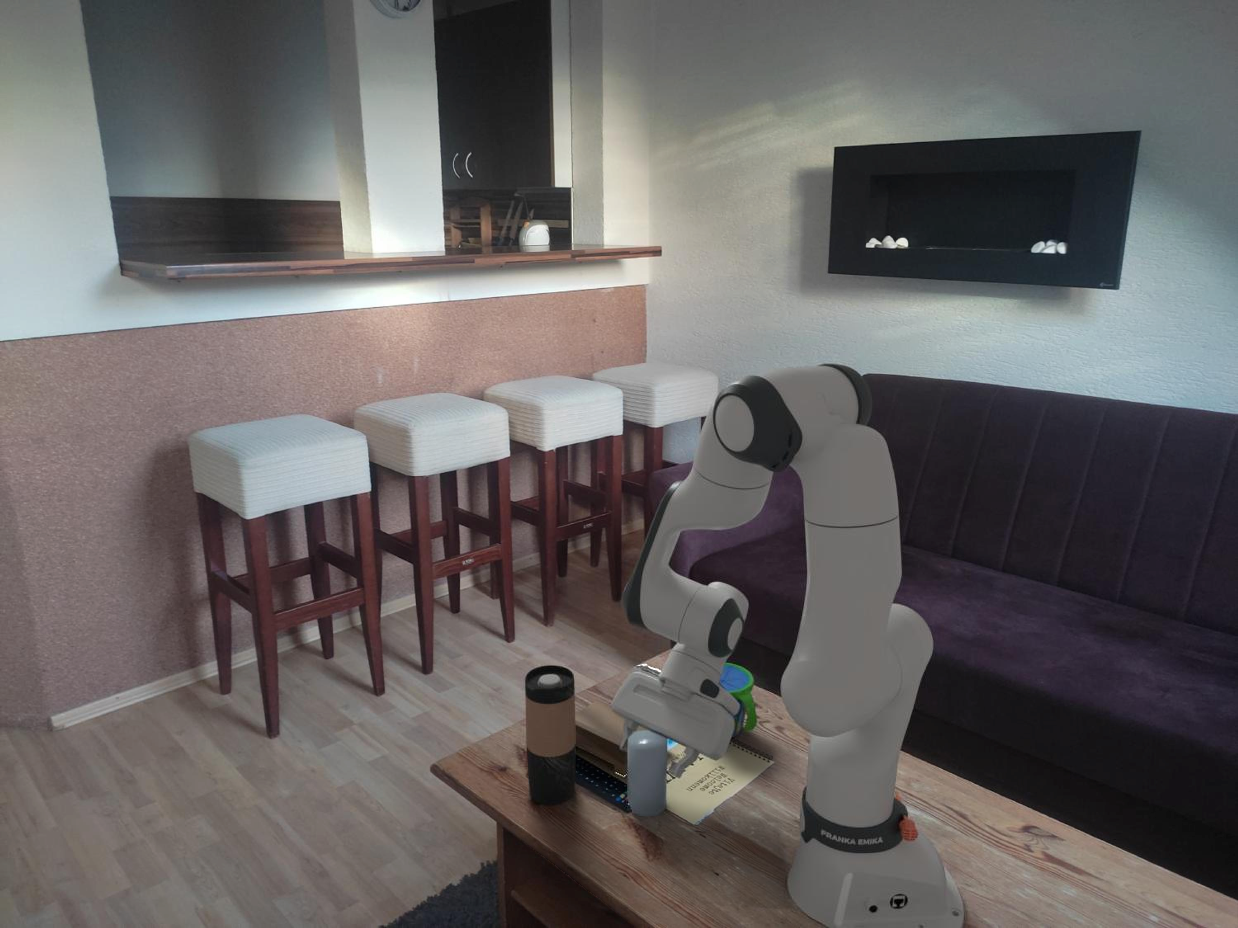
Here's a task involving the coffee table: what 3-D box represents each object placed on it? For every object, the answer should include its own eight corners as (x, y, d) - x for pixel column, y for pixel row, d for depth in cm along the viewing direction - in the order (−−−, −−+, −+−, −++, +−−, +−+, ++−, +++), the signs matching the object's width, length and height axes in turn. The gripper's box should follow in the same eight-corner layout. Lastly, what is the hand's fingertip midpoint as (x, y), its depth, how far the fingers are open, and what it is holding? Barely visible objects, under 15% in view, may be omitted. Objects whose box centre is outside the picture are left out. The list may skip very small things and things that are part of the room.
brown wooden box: (597, 714, 162) (597, 684, 160) (668, 747, 152) (669, 715, 150) (551, 743, 153) (551, 712, 151) (624, 780, 143) (624, 747, 142)
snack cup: (772, 742, 154) (775, 689, 151) (721, 759, 149) (723, 705, 146) (720, 699, 167) (722, 650, 164) (672, 714, 162) (673, 663, 159)
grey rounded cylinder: (666, 792, 140) (668, 731, 137) (665, 817, 134) (666, 753, 131) (628, 790, 141) (629, 729, 138) (625, 815, 135) (626, 751, 132)
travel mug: (579, 777, 144) (578, 665, 138) (572, 807, 137) (570, 691, 131) (532, 774, 145) (529, 663, 139) (523, 804, 137) (519, 688, 132)
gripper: (627, 652, 145) (587, 731, 140) (734, 695, 132) (694, 783, 128) (644, 667, 149) (606, 744, 145) (749, 709, 137) (711, 795, 132)
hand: (648, 763), depth 136 cm, fingers open, 8 cm apart
